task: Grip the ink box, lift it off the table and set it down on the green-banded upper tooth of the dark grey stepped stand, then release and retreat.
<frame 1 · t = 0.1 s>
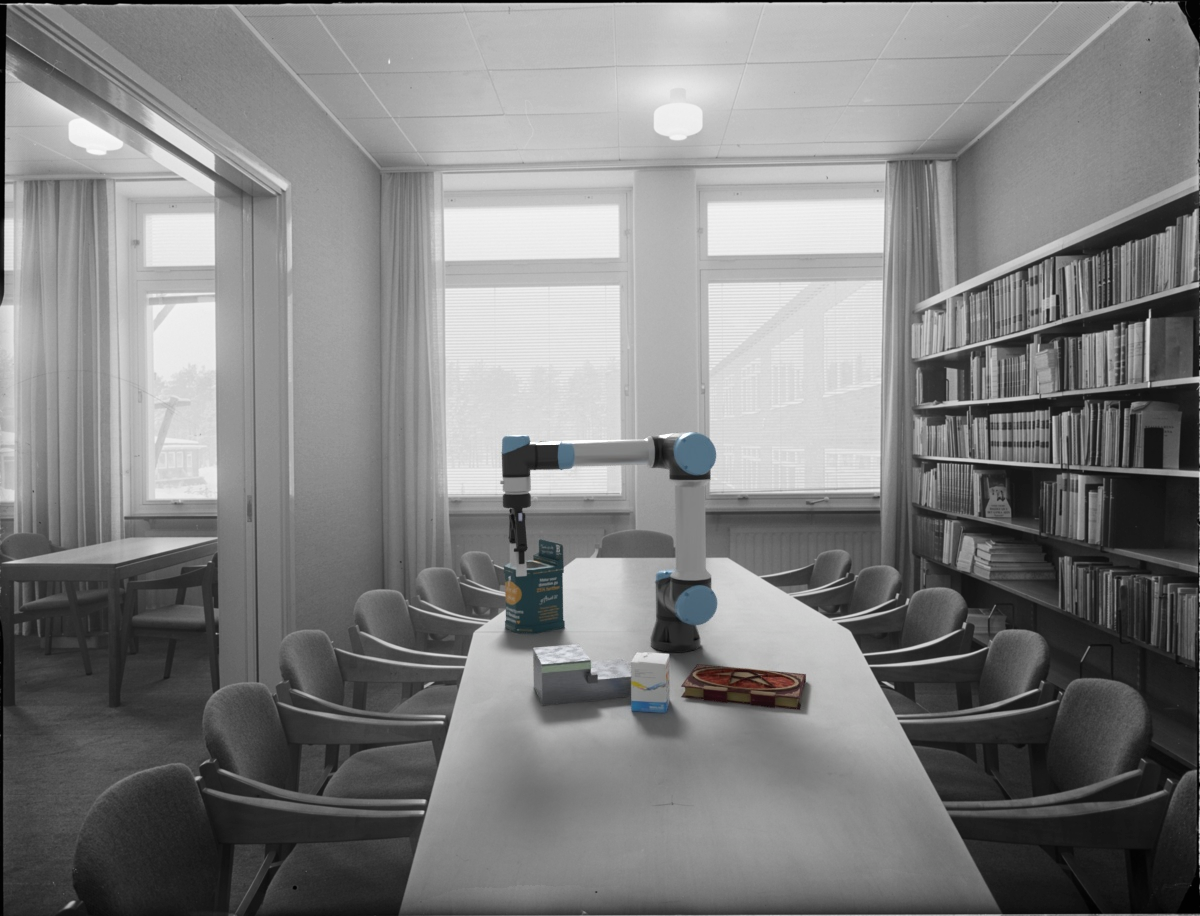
hand: (518, 571, 201), 28 cm above the table, fingers open, 13 cm apart
donation box: (531, 627, 251), on the table
book: (744, 692, 188), on the table
ink box: (650, 706, 178), on the table
stepped stand: (585, 690, 188), on the table
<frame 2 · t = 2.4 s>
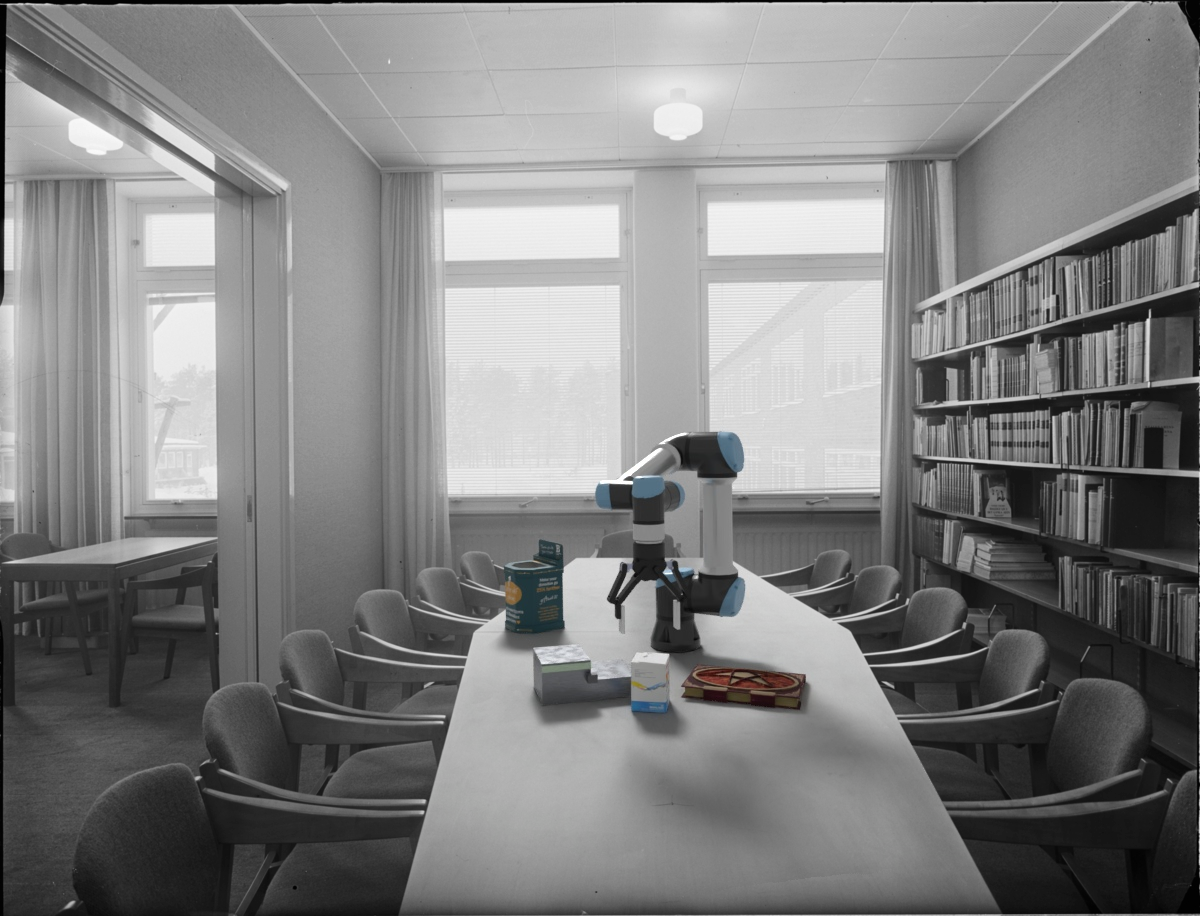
hand: (649, 630, 177), 18 cm above the table, fingers open, 13 cm apart
nothing on the table moved.
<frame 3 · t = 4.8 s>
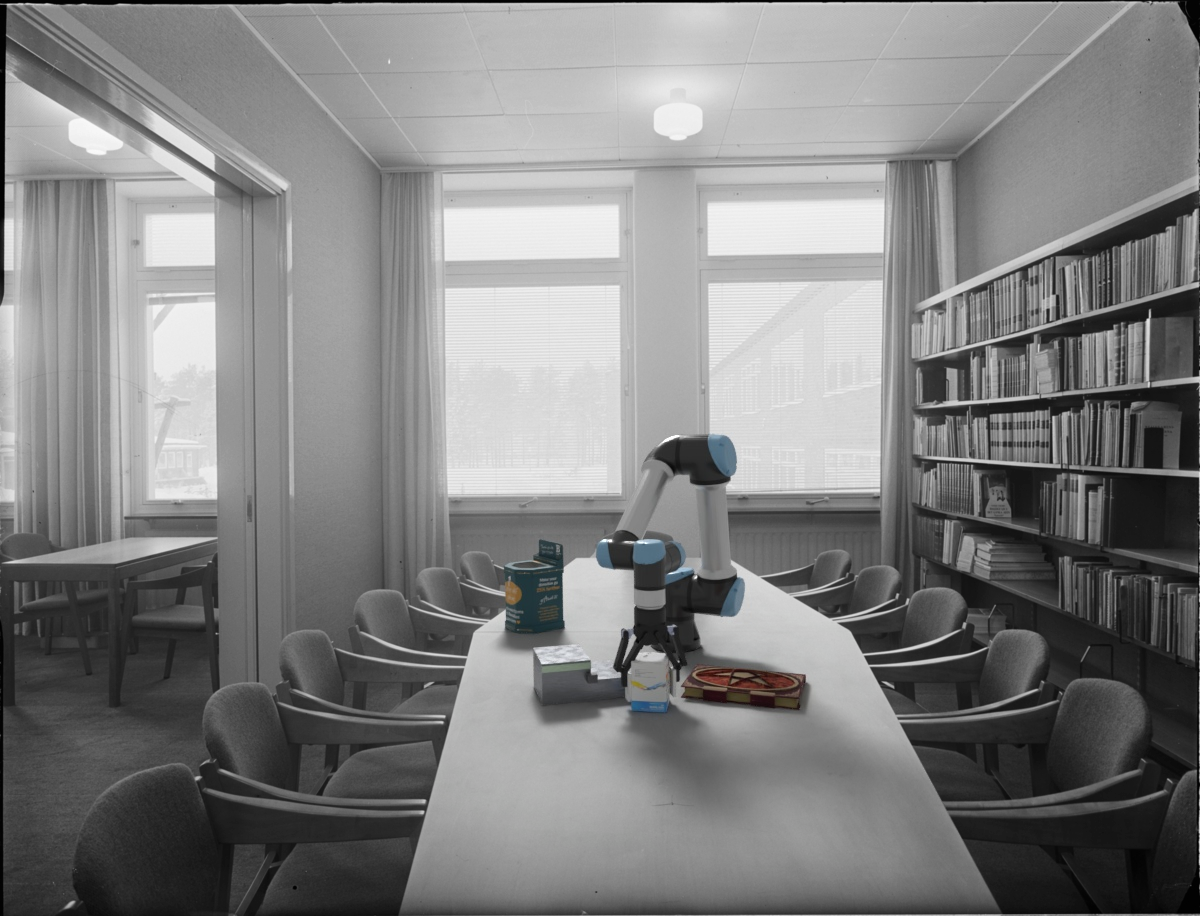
hand: (650, 697, 178), 2 cm above the table, fingers closed on ink box, 10 cm apart
ink box: (651, 706, 178), on the table, touching gripper
everything else where it was.
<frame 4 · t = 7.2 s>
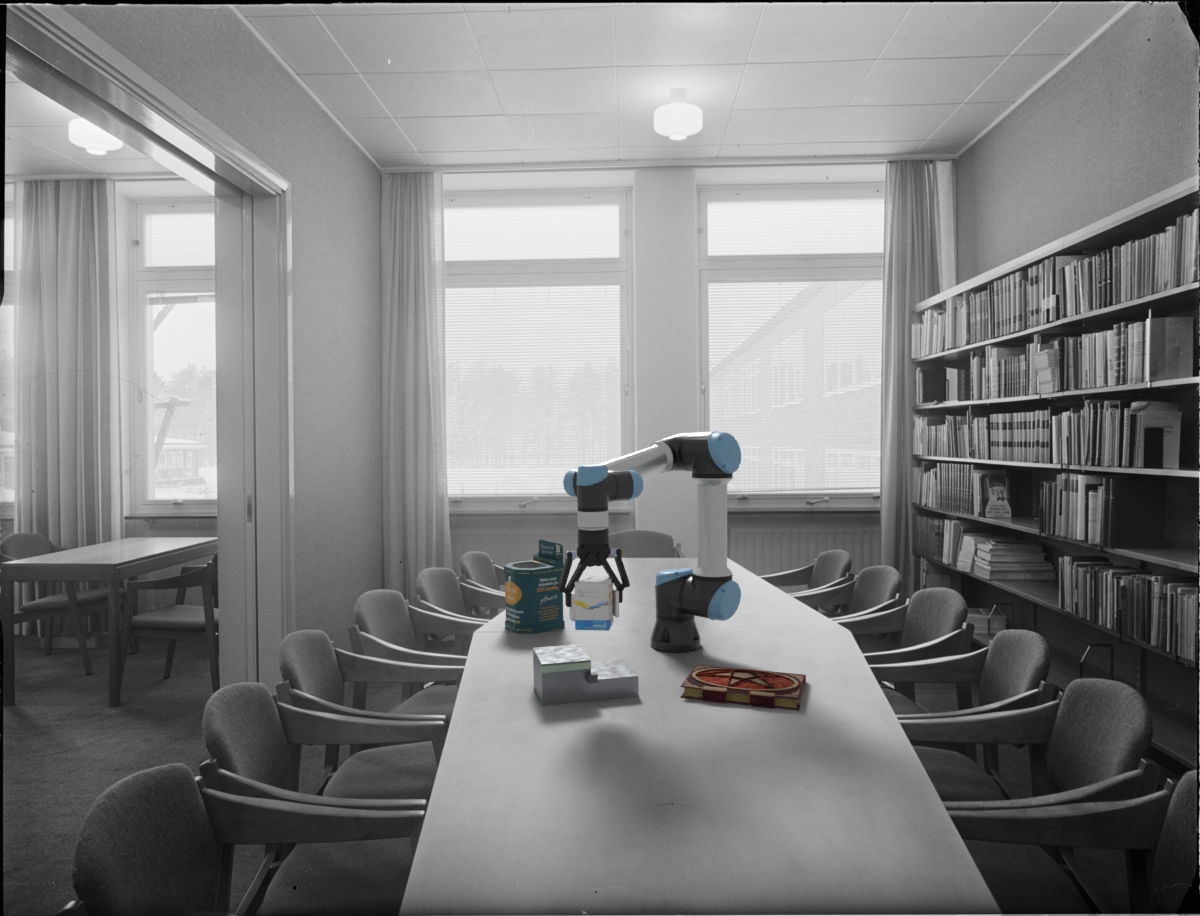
hand: (594, 618, 182), 20 cm above the table, fingers closed on ink box, 10 cm apart
ink box: (594, 626, 182), point 18 cm above the table, touching gripper
everything else where it was.
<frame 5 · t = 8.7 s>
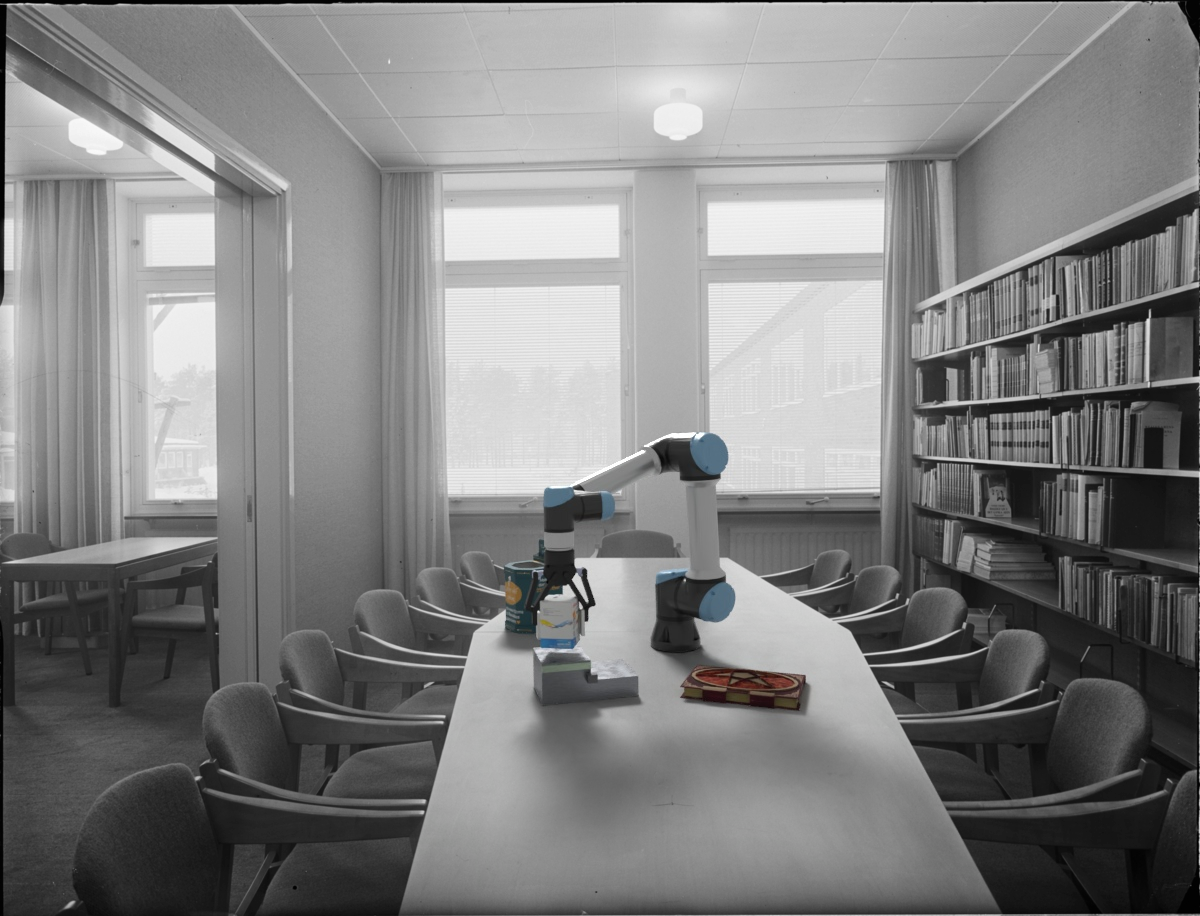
hand: (560, 636, 186), 14 cm above the table, fingers closed on ink box, 10 cm apart
ink box: (560, 644, 186), point 12 cm above the table, touching gripper
everything else where it was.
when the fingers open (13 cm above the table, at t = 9.9 s): ink box drops 1 cm, resting on stepped stand.
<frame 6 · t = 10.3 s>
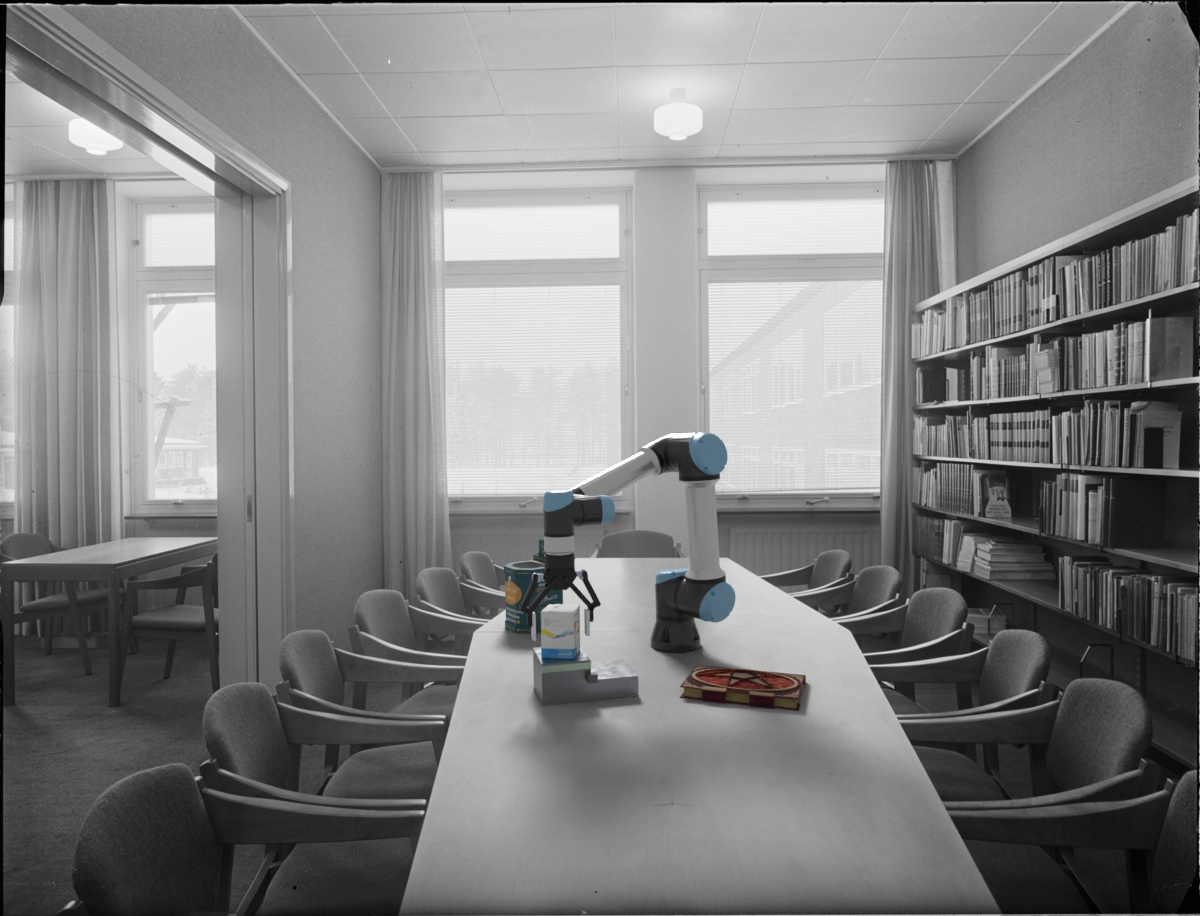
hand: (560, 637, 186), 14 cm above the table, fingers open, 13 cm apart
ink box: (561, 654, 186), point 10 cm above the table, touching stepped stand
everything else where it was.
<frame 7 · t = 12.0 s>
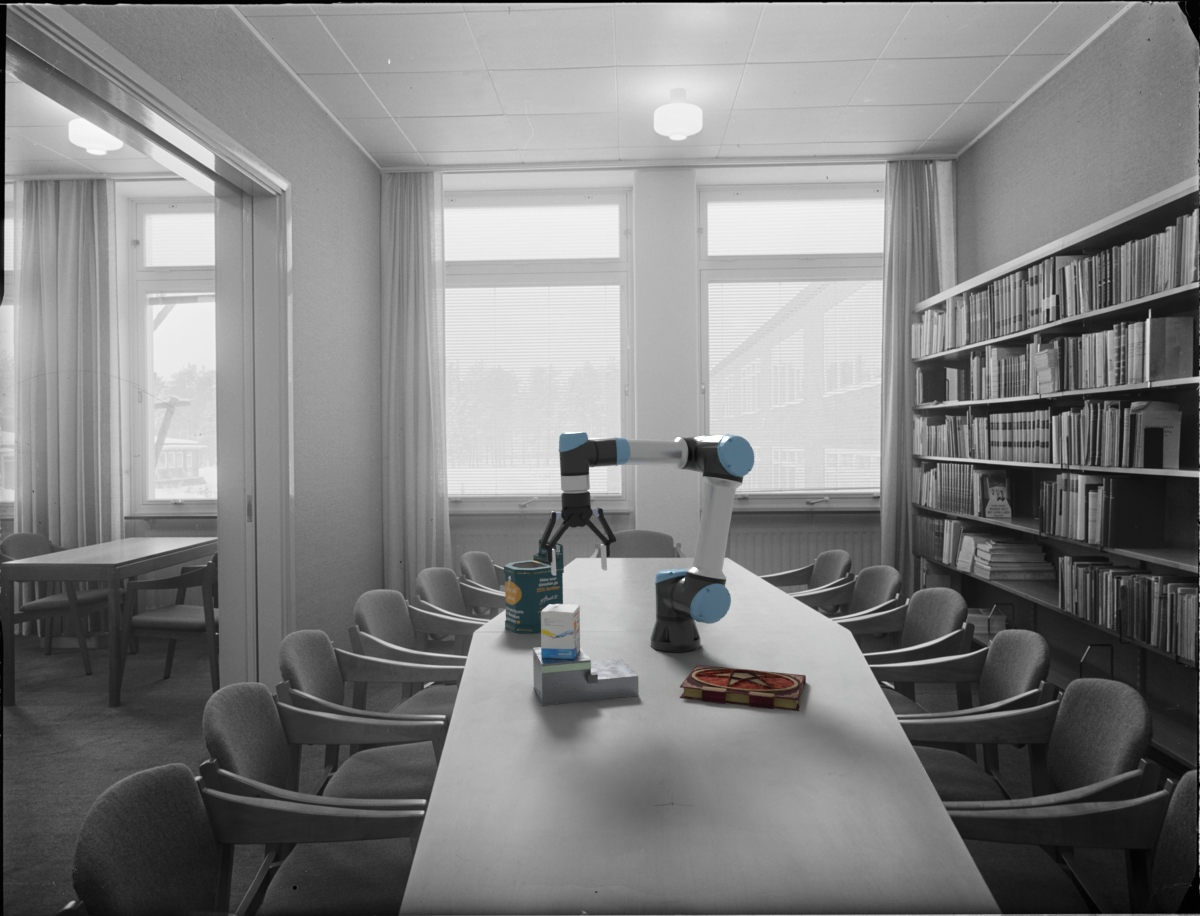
hand: (579, 572, 195), 29 cm above the table, fingers open, 13 cm apart
nothing on the table moved.
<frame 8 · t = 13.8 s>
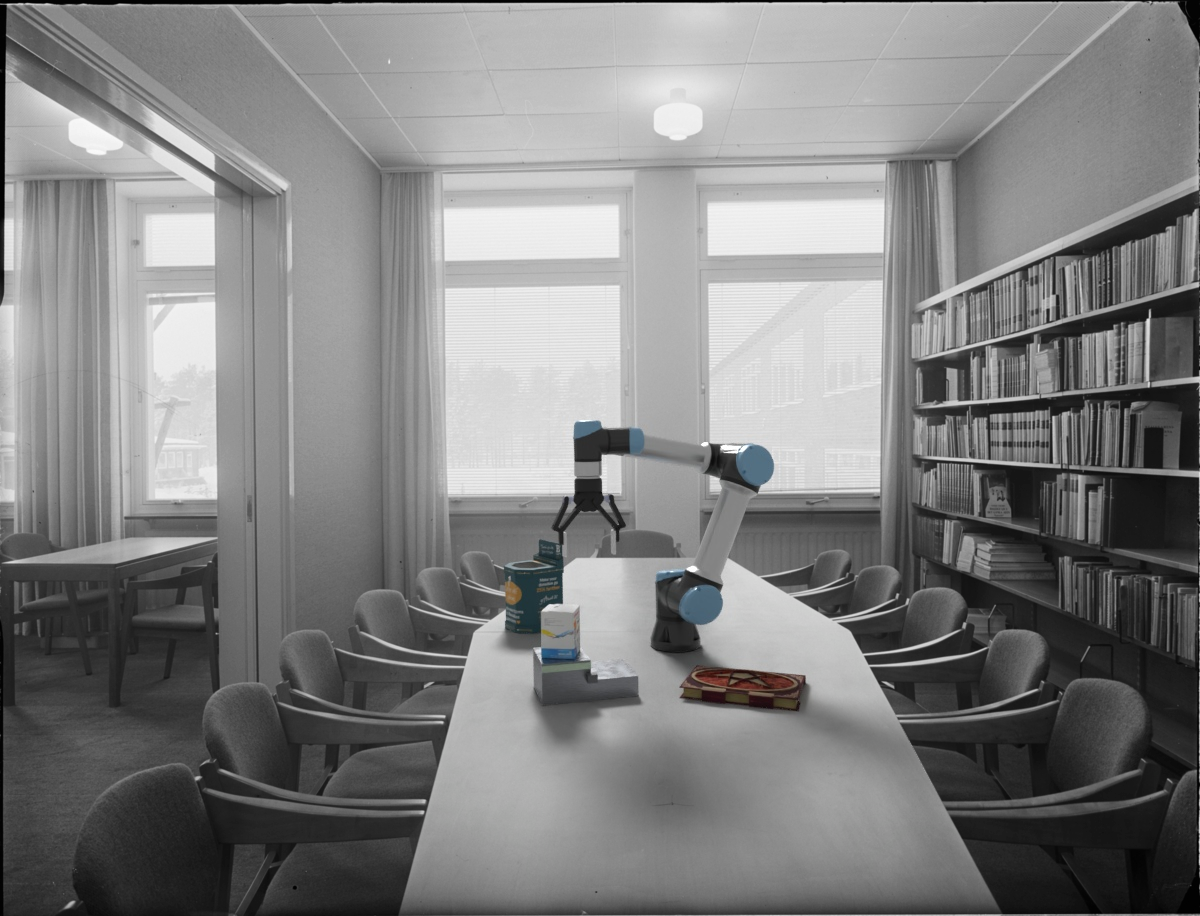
hand: (589, 555, 203), 32 cm above the table, fingers open, 13 cm apart
nothing on the table moved.
at the end: ink box inside the target area on the stepped stand (0.1 cm from its centre), point 9.8 cm above the stepped stand's base; ink box tilted 0°; the gripper is holding nothing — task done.
